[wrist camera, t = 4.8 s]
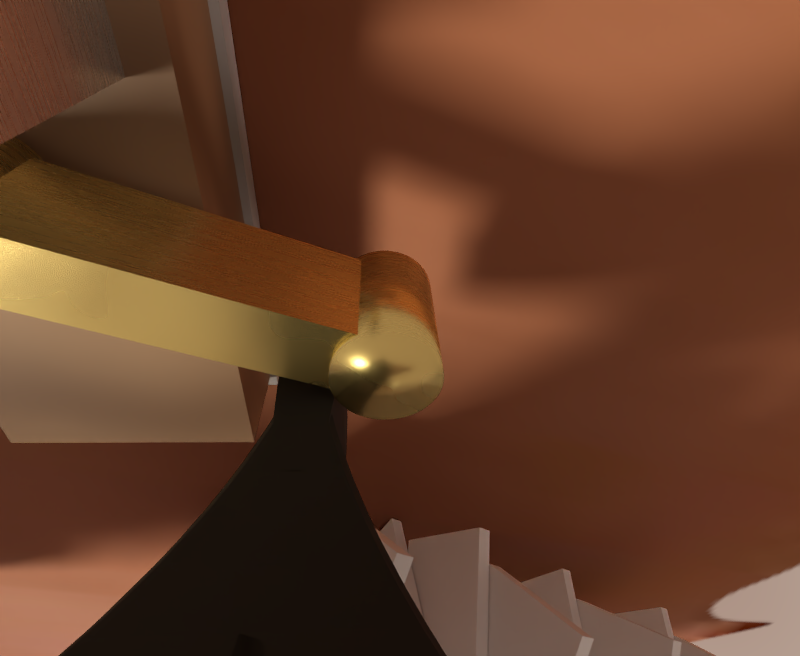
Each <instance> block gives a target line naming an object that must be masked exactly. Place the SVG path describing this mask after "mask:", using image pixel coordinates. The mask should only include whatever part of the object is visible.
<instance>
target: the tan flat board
mask: <svg viewBox="0 0 800 656" xmlns="http://www.w3.org/2000/svg"><path fill="white" fill-rule="evenodd" d="M104 1H105V5H106V8H107V12H108V16H109V19H110V23H111V27H112V31H113V34H114V38H115V42H116V45H117V49H118V53H119V56H120V60H121V64H122V67H123V71H124V75H125V78H123V79H121V80H120V81H118V82H116V83H114V84H112V85H110V86H108V87H107V88H105V89H103V90H101V91H99V92H97V93H95V94H94V95H92V96H90V97H88V98H86V99H84V100H82V101H81V102H79V103H77V104H75V105H73V106H71V107H69V108H68V109H66V110H64V111H62V112H60V113H58V114H56V115H55V116H53V117H51V118H49V119H47V120H45V121H43V122H41V123H40V124H38V125H36V126H34V127H32V128H30V129H28V130H27V131H25V132H23V133H21V134H19V135H17V136H15V137H16V138H17V139H19V140H21V141H22V142H24V143H25V144H26V145H28V146H29V147H30V148H31V149H32V150H34V151H35V152H36V153H37V154H38V155H39V156H40V157H41V159H42V160H43V161H45V162H48V163H52V164H55V165H58V166H61V167H64V168H68V169H71V170H74V171H77V172H80V173H84V174H87V175H90V176H93V177H97V178H100V179H103V180H106V181H109V182H113V183H116V184H119V185H122V186H125V187H129V188H132V189H135V190H138V191H141V192H145V193H148V194H151V195H154V196H158V197H161V198H164V199H167V200H170V201H174V202H177V203H180V204H183V205H186V206H190V207H193V208H196V209H199V210H202V211H206V212H209V213H212V214H215V215H219V216H222V217H225V218H228V219H231V220H235V221H238V222H241V223H244V224H247V225H251V226H254V227H257V228H260V223H259V216H258V209H257V202H256V195H255V189H254V182H253V175H252V168H251V161H250V154H249V147H248V140H247V134H246V127H245V120H244V113H243V106H242V99H241V92H240V85H239V79H238V72H237V65H236V58H235V51H234V44H233V37H232V30H231V24H230V17H229V10H228V3H227V0H104ZM278 379H279V376H276V375H272V374H268V373H264V372H259V371H255V370H251V369H247V368H243V367H239V366H234V365H230V364H226V363H222V362H218V361H214V360H210V359H205V358H201V357H197V356H193V355H189V354H185V353H180V352H176V351H172V350H168V349H164V348H160V347H156V346H151V345H147V344H143V343H139V342H135V341H131V340H126V339H122V338H118V337H114V336H110V335H106V334H102V333H97V332H93V331H89V330H85V329H81V328H77V327H72V326H68V325H64V324H60V323H56V322H52V321H48V320H43V319H39V318H35V317H31V316H27V315H23V314H18V313H14V312H10V311H6V310H2V309H0V427H1V429H2V430H3V432H4V433H5V435H6V436H7V438H8V439H9V440H10V442H11V443H131V442H254V440H255V436H256V432H257V428H258V424H259V420H260V416H261V412H262V408H263V404H264V400H265V396H266V392H267V388H268V385H278Z"/></svg>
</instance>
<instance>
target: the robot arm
mask: <svg viewBox="0 0 800 656" xmlns="http://www.w3.org/2000/svg"><path fill="white" fill-rule="evenodd" d="M346 447H347V409H346V408H345V407H344V406H342V405H341V404H340V403H339V402H338V401H337V400H336V399H335V397H334V395H333V394H332V392H331V390H330V388H326V387H322V386H318V385H313V384H309V383H305V382H301V381H297V380H293V379H288V378H284V377H280V376H279V379H278V387H277V394H276V402H275V410H274V417H273V419H272V420H271V422H270V424H269V425H268V427H267V428H266V430H265V431H264V433H263V434H262V436H261V437H260V439H259V440H258V441H257V443H256V444H255V446H254V447H253V449H252V450H251V451H250V453H249V454H248V456H247V457H246V459H245V460H244V462H243V463H242V464H241V466H240V467H239V468H238V470H237V471H236V472H235V474H234V475H233V476H232V478H231V479H230V480H229V481H228V483H227V484H226V485H225V486H224V488H223V489H222V490H221V491H220V493H219V494H218V495H217V496H216V497H215V499H214V500H213V501H212V502H211V504H210V505H209V506H208V507H207V508H206V510H205V511H204V512H203V513H202V514H201V515H200V516H199V518H198V519H197V520H196V521H195V522H194V523H193V524H192V525H191V527H190V528H189V529H188V530H187V531H186V532H185V533H184V534H183V536H182V537H181V538H180V539H179V540H178V541H177V542H176V543H175V544H174V545H173V547H172V548H171V549H170V550H169V551H168V552H167V553H166V554H165V555H164V556H163V557H162V558H161V559H160V560H159V561H158V562H157V563H156V564H155V566H154V567H152V568H151V569H150V570H149V571H148V572H147V573H146V574H145V575H144V576H143V577H142V578H141V579H140V580H139V581H138V582H137V583H136V584H135V585H134V586H133V587H132V588H131V589H130V590H129V591H128V592H127V593H126V594H125V595H124V596H123V597H122V598H121V599H120V600H119V601H118V602H117V603H116V604H115V605H114V606H113V607H112V608H111V609H110V610H109V611H108V612H107V613H106V614H104V615H103V616H102V617H101V618H100V619H99V620H98V621H97V622H96V623H95V624H94V625H93V626H92V627H91V628H89V629H88V630H87V631H86V632H85V633H84V634H83V635H82V636H81V637H79V638H78V639H77V640H76V641H75V642H74V643H73V644H72V645H70V646H69V647H68V648H67V649H66V650H65V651H64V652H62V653H61V654H60V655H59V656H447V655H446V654H445V652H444V651H443V649H442V647H441V646H440V644H439V643H438V641H437V639H436V638H435V636H434V634H433V633H432V631H431V630H430V628H429V626H428V625H427V623H426V621H425V620H424V618H423V616H422V615H421V613H420V611H419V609H418V608H417V606H416V604H415V602H414V601H413V599H412V597H411V596H410V594H409V592H408V590H407V589H406V587H405V585H404V583H403V581H402V579H401V578H400V576H399V574H398V572H397V570H396V568H395V566H394V564H393V562H392V560H391V559H390V557H389V555H388V553H387V551H386V549H385V547H384V545H383V543H382V541H381V539H380V538H379V536H378V533H377V531H376V529H375V527H374V525H373V523H372V521H371V518H370V516H369V514H368V512H367V510H366V508H365V505H364V503H363V501H362V498H361V496H360V494H359V491H358V489H357V487H356V484H355V482H354V479H353V477H352V474H351V471H350V469H349V466H348V463H347V461H346Z"/></svg>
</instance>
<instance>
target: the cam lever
mask: <svg viewBox="0 0 800 656" xmlns="http://www.w3.org/2000/svg"><path fill="white" fill-rule="evenodd" d="M0 309H2V310H6V311H10V312H14V313H18V314H23V315H27V316H31V317H35V318H39V319H43V320H48V321H52V322H56V323H60V324H64V325H68V326H72V327H77V328H81V329H85V330H89V331H93V332H97V333H102V334H106V335H110V336H114V337H118V338H122V339H126V340H131V341H135V342H139V343H143V344H147V345H151V346H156V347H160V348H164V349H168V350H172V351H176V352H180V353H185V354H189V355H193V356H197V357H201V358H205V359H210V360H214V361H218V362H222V363H226V364H230V365H234V366H239V367H243V368H247V369H251V370H255V371H259V372H264V373H268V374H272V375H276V376H280V377H284V378H288V379H293V380H297V381H301V382H305V383H309V384H313V385H318V386H322V387H326V388H330V390H331V392H332V394H333V395H334V397H335V399H336V400H337V401H338V402H339V403H340V404H341V405H342V406H344V407H345V408H346V409H348V410H350V411H351V412H353V413H355V414H358V415H361V416H364V417H367V418H373V419H398V418H403V417H406V416H410V415H412V414H415V413H417V412H419V411H421V410H423V409H424V408H426V407H427V406H428V405H430V404H431V403H432V402H433V401H434V400H435V399H436V397H437V396H438V395H439V393H440V391H441V389H442V386H443V381H444V371H443V365H442V358H441V352H440V345H439V339H438V332H437V326H436V319H435V313H434V306H433V300H432V293H431V287H430V282H429V278H428V276H427V274H426V272H425V270H424V269H423V268H422V266H421V265H420V264H419V263H418V262H416V261H415V260H414V259H412V258H410V257H409V256H407V255H404V254H402V253H398V252H393V251H376V252H371V253H368V254H365V255H363V256H360V257H358V258H353V257H350V256H347V255H344V254H341V253H337V252H334V251H331V250H328V249H324V248H321V247H318V246H315V245H312V244H308V243H305V242H302V241H299V240H296V239H292V238H289V237H286V236H283V235H280V234H276V233H273V232H270V231H267V230H263V229H260V228H257V227H254V226H251V225H247V224H244V223H241V222H238V221H235V220H231V219H228V218H225V217H222V216H219V215H215V214H212V213H209V212H206V211H202V210H199V209H196V208H193V207H190V206H186V205H183V204H180V203H177V202H174V201H170V200H167V199H164V198H161V197H158V196H154V195H151V194H148V193H145V192H141V191H138V190H135V189H132V188H129V187H125V186H122V185H119V184H116V183H113V182H109V181H106V180H103V179H100V178H97V177H93V176H90V175H87V174H84V173H80V172H77V171H74V170H71V169H68V168H64V167H61V166H58V165H55V164H52V163H48V162H45V161H43V160H42V159H41V157H40V156H39V155H38V154H37V153H36V152H35V151H34V150H32V149H31V148H30V147H29V146H28V145H26V144H25V143H24V142H22V141H21V140H19V139H17V138H16V137H14V138H12V139H10V140H8V141H6V142H4V143H2V144H1V145H0Z"/></svg>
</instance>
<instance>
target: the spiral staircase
mask: <svg viewBox="0 0 800 656" xmlns="http://www.w3.org/2000/svg"><path fill="white" fill-rule="evenodd" d="M375 529H376V528H375ZM376 531H377V533H378V536H379V538H380V539H381V541H382V543H383V545H384V547H385V549H386V551H387V553H388V555H389V557H390V559H391V560H392V562H393V564H394V566H395V568H396V570H397V572H398V574H399V576H400V578H401V579H402V581H403V583H404V585H405V587H406V589H407V590H408V592H409V594H410V596H411V597H412V599H413V601H414V602H415V604H416V606H417V608H418V609H419V611H420V613H421V615H422V616H423V618H424V620H425V621H426V623H427V625H428V626H429V628H430V630H431V631H432V633H433V634H434V636H435V638H436V639H437V641H438V643H439V644H440V646H441V647H442V649H443V651H444V652H445V654H446V655H447V656H715V655H713V654H711V653H709V652H708V651H705V650H704V649H702V648H700V647H698V646H696V645H694V644H692V643H690V642H688V641H686V640H684V639H682V638H680V637H677V636H674V635H673V631H672V627H671V623H670V620H669V616H668V612H667V609H665V608H662V607H658V608H651V609H644V610H637V611H630V612H623V613H616V614H614V613H611V612H609V611H606V610H604V609H602V608H599V607H597V606H595V605H592V604H590V603H588V602H585V601H583V600H579V599H576V597H575V592H574V588H573V583H572V578H571V573H570V571H569V570H566V569H563V568H562V569H559V570H556V571H553V572H550V573H547V574H544V575H541V576H538V577H535V578H532V579H529V580H526V581H523V582H519V581H518V580H516V579H515V578H514V577H513V576H511V575H510V574H509V573H507V572H506V571H505V570H503V569H502V568H501V567H499V566H496V565H492V564H489V541H490V531H489V530H486V529H483V528H480V527H479V528H473V529H468V530H462V531H457V532H451V533H445V534H440V535H434V536H429V537H423V538H417V539H412V540H409V545H408V549H407V545H406V541H405V536H404V532H403V528H402V524H401V521H398V520H395V519H391V520H390V521H389V522H388V523H387V524H386V525H385V526H384V527H383V529H382V530H381V531H379V530H377V529H376Z"/></svg>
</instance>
